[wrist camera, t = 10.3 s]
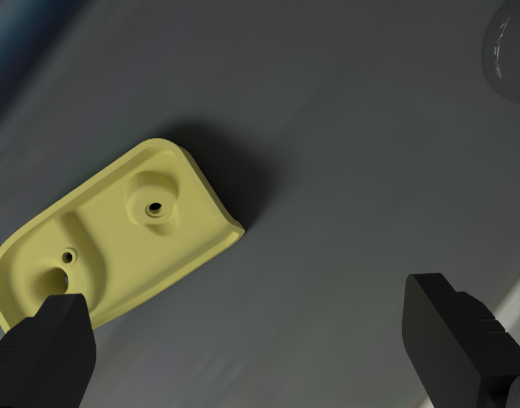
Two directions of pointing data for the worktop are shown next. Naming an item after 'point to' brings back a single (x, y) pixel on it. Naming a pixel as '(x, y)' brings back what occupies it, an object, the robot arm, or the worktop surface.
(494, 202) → the worktop surface
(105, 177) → the plastic component
